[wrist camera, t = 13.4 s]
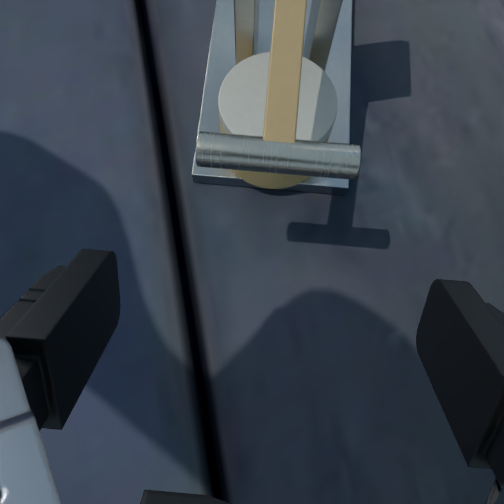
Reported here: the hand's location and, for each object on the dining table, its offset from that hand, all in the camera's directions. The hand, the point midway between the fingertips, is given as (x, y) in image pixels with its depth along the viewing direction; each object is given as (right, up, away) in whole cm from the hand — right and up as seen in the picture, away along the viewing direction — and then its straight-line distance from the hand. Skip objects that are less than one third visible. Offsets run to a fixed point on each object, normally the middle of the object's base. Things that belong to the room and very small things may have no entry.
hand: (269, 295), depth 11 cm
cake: (+1, +8, +14) cm, 16 cm away
